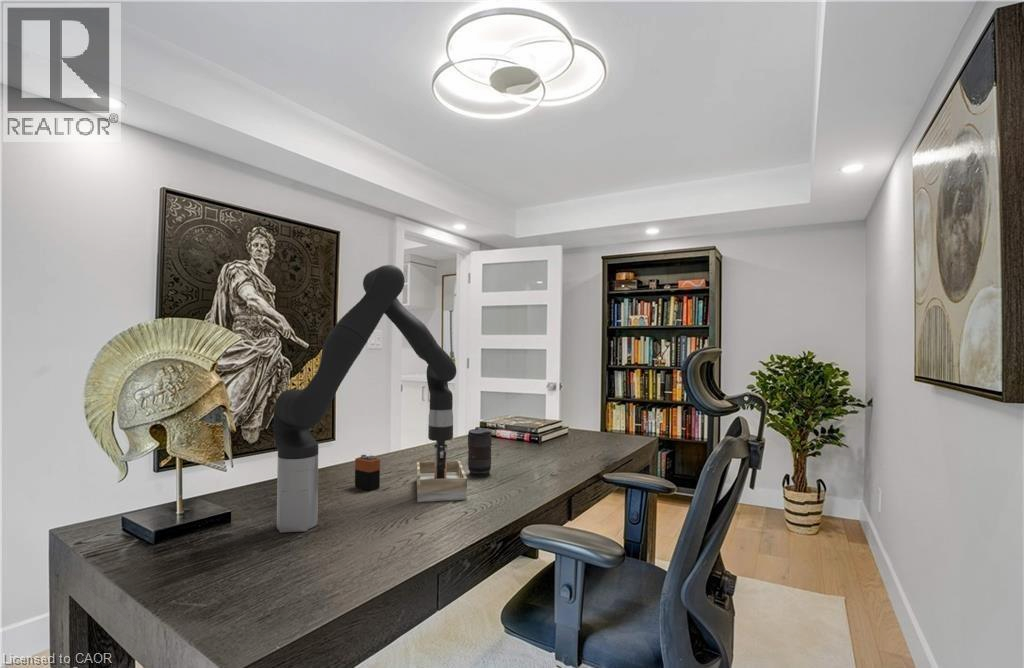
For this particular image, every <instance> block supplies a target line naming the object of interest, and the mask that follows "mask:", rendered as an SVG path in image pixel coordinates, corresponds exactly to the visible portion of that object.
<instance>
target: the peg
mask: <svg viewBox="0 0 1024 668" xmlns="http://www.w3.org/2000/svg"><path fill="white" fill-rule="evenodd" d="M434 461H435V460H434ZM446 461H448V460H446ZM439 465H443V463H439ZM445 466H446V464H445ZM436 467H437V462H436V461H435V472H434V479H437V469H436ZM444 479H446V468H445V470H444Z"/></svg>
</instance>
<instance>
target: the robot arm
mask: <svg viewBox="0 0 1024 668" xmlns="http://www.w3.org/2000/svg"><path fill="white" fill-rule="evenodd" d="M362 287H363V290H364V291H365V294H364V295H363V297H361V299H360V300H359V301H358V302H357V303H356V304H355V305H353V306H352V308H350V309H349V310H348V311H347V312H346V313H345V314H344V315H343V316H342V317H341V318H340V319H339V320H338V322H337V323H336V324H335V325H334V327H333V329H331V331H330V332H329V334H328V336H327V337H326V339H325V341H324V342H323V346H322V350H321V355H320V356H321V357H320V362H319V366H318V369H317V371H316V372H315V374H314V375H313V377H312V379H311V380H310V382H308V384H307V385H306V387H305V388H304V389H298V388H290V389H286V390H284V391H282V392H281V393H280V394H279V395H278V396H277V398H276V400H275V402H274V405H273V406H274V407H273V441H274V445H275V447H276V449H277V471H276V472H277V475H276V476H277V477H276V479H277V480H276V481H277V482H276V483H277V485H276V529H277V530H278V531H279V533H281V534H282V533H294V532H296V533H297V532H307V531H309V530H310V529H312V528H314V527H316V526H317V525H318V516H319V515H318V507H319V506H318V501H319V499H318V498H319V497H318V496H319V495H318V493H319V492H318V491H319V443H318V441H317V440H316V439H315V438H314V437H313V435H312V434H311V431H310V429H312V428H313V427H316V426H317V425H318V424H320V423H321V421H322V419H323V418H324V417H325V415H326V414H327V412H328V409H329V408H330V406H331V403H332V401H333V399H334V397H335V396H336V393H337V391H338V389H339V387H340V386H341V384H342V382H343V380H344V379H345V377H346V376H347V374H348V373H349V371H350V369H351V368H352V366H353V364H354V363H355V361H356V360H357V358H358V357H359V356H360V354H361V352H362V350H363V349H364V347H365V346H366V345H367V343H368V340H370V337H372V334H373V333H374V331H375V329H376V328H377V326H378V324H379V323H380V321H381V319H382V318H383V316H384V315H385V316H387V318H388V319H389V320H390V321H391V322H392V324H394V326H395V327H396V328H397V329H398V330H399V331H400V333H401V334H402V335H403V336H404V338H405V340H406V341H407V342H408V344H409V345H410V347H411V348H412V350H413V352H415V354H416V355H417V357H418V358H419V359H421V360H423V361H425V363H426V364H427V367H426V380H427V387H428V392H429V410H428V411H429V413H428V424H427V425H428V430H427V431H428V433H427V434H428V435H427V437H428V439H429V440H430V441H433V442H436V443H435V444H433V451H434V461H436V462H437V467H436V469H437V479H444V470H445V468H446V466H445V464H446V460H447V457H448V456H447V453H448V444H446V441H451V440H452V439H453V438H454V412H453V411H454V410H453V405H454V403H453V401H454V400H453V397H454V396H453V392H452V390H451V389H450V388H449V384H448V382H449V383H450V382H451V381H453V380H454V379H455V377H456V376H457V365H456V364H455V362H454V360H453V359H452V358H451V356H450V354H448V353H447V351H445V350H444V349H443V348H442V347H441V346H440V344H439V343H438V342H437V340H436V339H435V337H434V335H433V334H432V333H431V331H430V330H429V329H428V326H426V324H425V323H423V322H422V320H420V319H419V318H418V317H416V316H415V315H414V314H413V313H411V312H410V311H409V310H408V309H407V308H406V307H405V306H404V305H403V304H402V303H401V301H400V300H399V298H398V296H399V295H400V294H401V293H402V292H403V289H404V287H405V275H404V272H403V270H401V268H399V267H398V266H396V265H393V264H387V265H381V266H379V267H377V268H375V269H373V270H371V271H369V272H367V273H366V274H365V275H364V278H363V280H362ZM447 461H448V460H447ZM439 463H443V465H439Z"/></svg>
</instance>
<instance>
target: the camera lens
mask: <svg viewBox="0 0 1024 668" xmlns="http://www.w3.org/2000/svg"><path fill="white" fill-rule="evenodd" d="M492 436H493V435H492V430H490V429H488V428H474V429H473V428H471V429H469V430H468V433H467V447H468V448H467V449H468V452H467V453H468V454H467V455H468V456H467V468H468V471H469V476H471V477H476V478H483V477H484V478H485V477H488V476H490V473H491V472H490V471H491V470H492V468H491V467H492V438H493V437H492Z"/></svg>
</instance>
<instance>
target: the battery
mask: <svg viewBox="0 0 1024 668" xmlns="http://www.w3.org/2000/svg"><path fill="white" fill-rule="evenodd" d="M380 469H381V459H380V458H378V457H376V456H375V455H368V456H367V454H361V455H360V457H357V458H355V459H354V487H355V488H356V489H360V490H364V491H368V492H370V491H373V490H376V489H380V487H381V485H380V483H381V476H380V475H381V473H380V472H381V470H380Z"/></svg>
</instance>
